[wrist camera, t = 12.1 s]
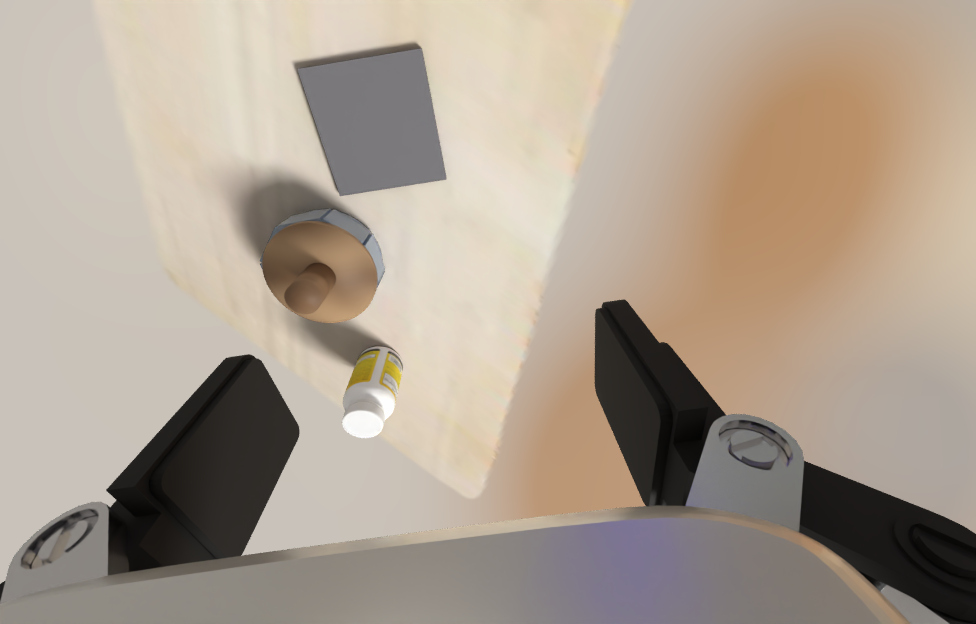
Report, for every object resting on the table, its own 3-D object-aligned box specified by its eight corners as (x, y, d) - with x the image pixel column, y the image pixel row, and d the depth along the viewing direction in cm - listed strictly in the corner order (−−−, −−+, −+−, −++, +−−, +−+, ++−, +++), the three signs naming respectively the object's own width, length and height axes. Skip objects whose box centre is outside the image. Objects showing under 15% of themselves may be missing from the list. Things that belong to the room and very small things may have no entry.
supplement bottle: (354, 373, 46) (329, 436, 38) (364, 339, 44) (339, 398, 35) (397, 384, 47) (382, 447, 39) (409, 352, 45) (396, 412, 36)
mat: (299, 69, 30) (297, 69, 30) (422, 49, 30) (421, 48, 29) (341, 194, 35) (339, 196, 35) (446, 178, 35) (446, 179, 34)
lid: (246, 229, 33) (211, 251, 28) (359, 212, 32) (342, 232, 28) (292, 325, 38) (268, 356, 33) (389, 311, 37) (379, 340, 33)
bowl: (264, 218, 36) (243, 232, 33) (364, 200, 36) (353, 211, 32) (306, 306, 41) (292, 326, 38) (394, 291, 41) (388, 309, 37)
